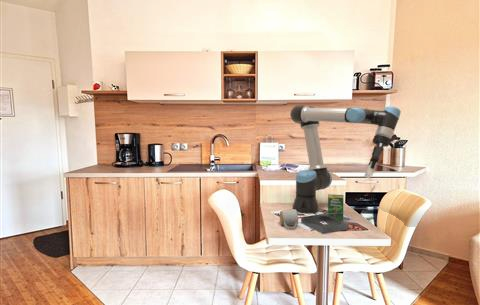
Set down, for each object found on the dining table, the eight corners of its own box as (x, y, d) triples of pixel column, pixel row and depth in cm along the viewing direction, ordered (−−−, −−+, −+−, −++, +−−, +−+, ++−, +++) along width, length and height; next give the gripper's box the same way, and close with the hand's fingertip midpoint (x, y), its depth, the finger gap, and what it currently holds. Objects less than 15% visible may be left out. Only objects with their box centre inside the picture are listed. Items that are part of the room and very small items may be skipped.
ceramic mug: (278, 222, 132) (279, 207, 131) (294, 222, 132) (294, 207, 132) (283, 230, 121) (283, 214, 121) (300, 230, 122) (300, 214, 121)
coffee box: (327, 218, 138) (327, 194, 137) (327, 217, 140) (328, 193, 140) (343, 220, 134) (343, 196, 134) (343, 219, 137) (344, 194, 136)
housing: (301, 222, 131) (301, 217, 131) (325, 218, 137) (325, 213, 137) (323, 234, 116) (323, 227, 116) (349, 228, 123) (349, 222, 122)
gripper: (395, 133, 115) (379, 176, 115) (386, 144, 138) (373, 181, 137) (377, 128, 118) (361, 170, 118) (372, 140, 141) (358, 176, 140)
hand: (367, 176), depth 128 cm, fingers open, 13 cm apart
